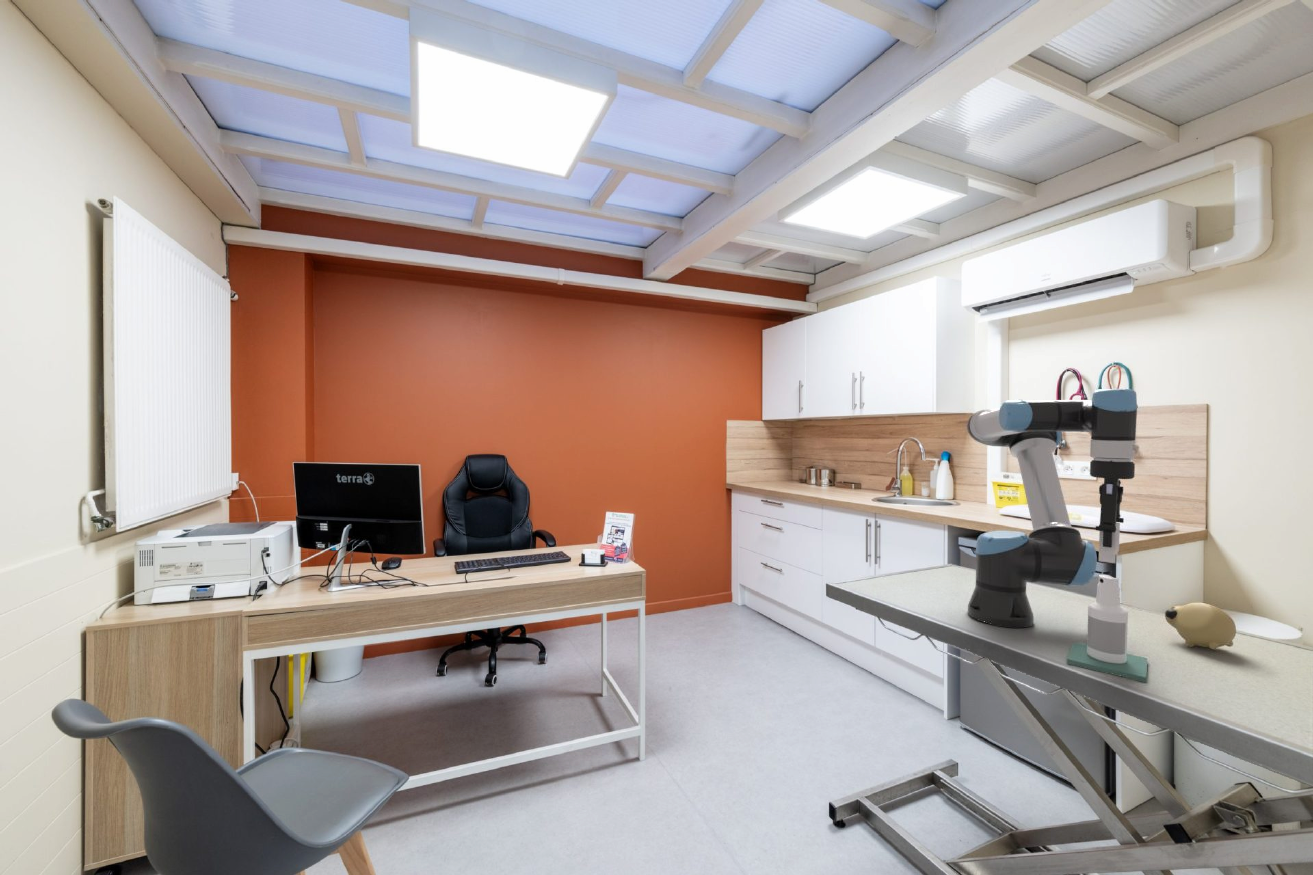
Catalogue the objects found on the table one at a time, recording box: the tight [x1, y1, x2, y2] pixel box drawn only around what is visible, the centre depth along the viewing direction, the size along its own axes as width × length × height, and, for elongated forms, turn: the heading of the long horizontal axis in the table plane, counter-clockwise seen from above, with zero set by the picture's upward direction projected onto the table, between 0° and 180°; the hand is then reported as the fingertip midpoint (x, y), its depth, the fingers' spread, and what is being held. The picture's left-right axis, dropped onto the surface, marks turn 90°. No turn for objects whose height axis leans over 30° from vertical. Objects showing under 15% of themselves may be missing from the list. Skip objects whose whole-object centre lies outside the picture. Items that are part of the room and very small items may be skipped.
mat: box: [1066, 642, 1148, 683], centre depth 121 cm, size 13×13×1 cm
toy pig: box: [1164, 602, 1237, 650], centre depth 131 cm, size 10×12×11 cm
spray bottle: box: [1086, 574, 1129, 664], centre depth 121 cm, size 7×7×18 cm
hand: (1109, 556), depth 121 cm, fingers open, 13 cm apart
